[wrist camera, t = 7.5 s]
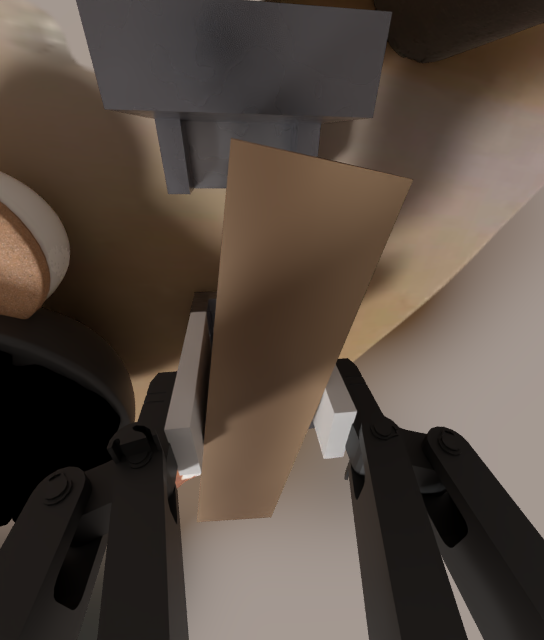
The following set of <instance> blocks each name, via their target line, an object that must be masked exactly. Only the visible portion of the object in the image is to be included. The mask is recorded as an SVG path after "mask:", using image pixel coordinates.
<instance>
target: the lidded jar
mask: <svg viewBox="0 0 544 640" xmlns="http://www.w3.org/2000/svg"><path fill="white" fill-rule="evenodd" d="M69 260H70V244H69V240H68V236H67V233H66V231H65V228H64V226H63V224H62V222H61V220H60V219H59V217H58V215H57V214H56V213H55V212H54V210H53V209H52V208H51V207H50V205H49V204H48V203H47V202H46V201H45V200H44V199H43V198H42V197H40V196H39V195H38V194H37V193H36V192H34V191H33V190H32V189H31V188H29V187H28V186H26V185H25V184H23V183H22V182H20V181H19V180H17V179H15V178H13V177H11V176H9V175H8V174H5V173H3V172H0V315H5V316H10V317H15V318H19V319H28V318H29V317H31V316H32V315H33V314H34V313H35V312H36V311H37V310H38V309H39V308H40V307H41V306H42V304H43V303H44V301H45V300H46V299H47V298H49V296H50V295H51V294H52V293H53V292H54V291H55V290H56V288H57V287H58V286H59V284H60V283H61V281H62V280H63V278H64V276H65V274H66V271H67V269H68V266H69Z"/></svg>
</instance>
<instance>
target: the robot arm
mask: <svg viewBox="0 0 544 640" xmlns="http://www.w3.org/2000/svg"><path fill="white" fill-rule="evenodd" d="M211 356H212V350H211V342H210V335H209V328H208V321H207V314H206V312H191V313H190V318H189V322H188V327H187V331H186V335H185V340H184V344H183V349H182V353H181V358H180V362H179V366H178V371H176V372H162V373H158V374H157V375H156V376H155V378H154V379H153V380H152V381H151V382H150V385H149V388H148V391H147V395H146V397H145V400H144V404H143V407H142V410H141V413H140V416H139V419H138V422H134V423H131V424H129V425H126V426H124V427H123V428H121V429H120V430H119V431H117V432H116V433H115V434H114V436H113V437H112V438H111V439H110V441H109V444H108V446H107V450H108V452H109V454H110V456H111V457H112V459H113V460H111V461H109V462H107V463H105V464H102V465H100V466H97V467H95V468H92V469H90V470H87V471H85V472H84V471H82V470H81V469H80V468H78V467H66V468H62V469H59V470H57V471H55V472H53V473H52V474H50V475H48V476H47V477H46V478H45V479H44V480H43V481H41V482H40V483H39V484H38V486H37V487H36V488H35V490H34V491H33V492H32V494H31V496H30V497H29V499H28V501H27V503H26V504H25V506H24V508H23V510H22V511H21V513H20V515H19V517H18V519H17V520H16V522H15V524H14V526H13V527H12V529H11V531H10V533H9V534H8V536H7V538H6V540H5V542H4V543H3V545H2V547H1V549H0V640H77V639H78V636H79V633H80V629H81V626H82V623H83V620H84V617H85V613H86V610H87V607H88V604H89V601H90V597H91V594H92V591H93V588H94V584H95V581H96V578H97V575H98V572H99V568H100V565H101V562H102V558H103V555H104V552H105V549H106V546H107V551H106V561H105V571H104V580H103V590H102V599H101V609H100V618H99V628H98V638H97V640H189V636H188V623H187V610H186V598H185V584H184V571H183V557H182V544H181V531H180V518H179V506H178V493H177V487H176V484H175V481H176V475H177V469H178V472H179V475H180V476H181V475H189V474H198V473H201V472H202V461H203V450H204V435H205V424H206V412H207V401H208V390H209V379H210V367H211ZM313 423H314V426H315V430H316V433H317V436H318V440H319V443H320V447H321V450H322V454H323V458H324V459H328V458H336V457H343V455H344V452H345V449H346V451H347V454H348V456H349V459H350V460H349V463H348V466H347V469H346V472H345V480H348V477H349V481H350V489H351V498H352V506H353V514H354V522H355V529H356V537H357V546H358V554H359V562H360V569H361V578H362V586H363V594H364V602H365V611H366V619H367V626H368V635H369V640H468V638H467V635H466V632H465V629H464V626H463V623H462V620H461V616H460V613H459V610H458V607H457V604H456V601H455V598H454V595H453V591H452V589H451V585H450V582H449V579H448V576H447V573H446V570H445V567H444V563H443V560H444V562H445V564H446V566H447V568H448V570H449V572H450V574H451V576H452V578H453V579H454V581H455V583H456V585H457V587H458V589H459V591H460V593H461V595H462V597H463V599H464V601H465V603H466V605H467V607H468V609H469V611H470V613H471V615H472V617H473V619H474V621H475V623H476V625H477V627H478V629H479V631H480V633H481V635H482V637H483V639H484V640H544V539H543V538H542V537H541V535H540V534H539V533H538V531H537V530H536V529H535V528H534V526H533V525H532V524H531V522H530V521H529V520H528V519H527V517H526V516H525V515H524V513H523V512H522V511H521V510H520V508H519V507H518V506H517V505H516V503H515V502H514V501H513V500H512V498H511V497H510V496H509V494H508V493H507V492H506V490H505V489H504V488H503V487H502V485H501V484H500V483H499V481H498V480H497V479H496V478H495V476H494V475H493V474H492V472H491V471H490V470H489V469H488V467H487V466H486V465H485V463H484V462H483V461H482V460H481V459H480V457H479V456H478V454H477V453H476V452H475V451H474V449H473V448H472V447H471V446H470V444H469V443H468V442H467V441H466V440H465V439H464V438H463V437H462V436H461V435H459V434H458V433H457V432H455V431H453V430H451V429H448V428H445V427H435V428H431V429H430V430H429V432H428V433H427V434H424V433H419V432H414V431H408V430H405V429H402V428H399V427H398V426H397V425H396V424H395V423H394V422H393V421H392V420H390V419H388V418H387V417H385V416H384V415H383V413H382V412H381V410H380V408H379V406H378V404H377V403H376V401H375V399H374V397H373V395H372V394H371V391H370V390H369V388H368V386H367V385H366V382H365V380H364V379H363V377H362V375H361V373H360V371H359V369H358V368H357V366H356V365H355V364H354V363H353V362H352V361H350V360H349V359H348V358H345V359H337V362H336V364H335V367H334V369H333V371H332V374H331V376H330V379H329V381H328V383H327V386H326V388H325V390H324V393H323V395H322V398H321V400H320V402H319V405H318V407H317V409H316V412H315V414H314V417H313ZM441 556H442V557H441ZM442 558H443V560H442Z"/></svg>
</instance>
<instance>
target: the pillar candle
mask: <svg viewBox="0 0 544 640" xmlns="http://www.w3.org/2000/svg"><path fill="white" fill-rule="evenodd" d="M374 5H375V7H376V11H388V12H392V16H391V22H390V27H389V32H388V38H387V41H388V42H389V43H390V45H391V47H392V48H393V49H394V50H395V51H396V53H398V55H400V56H401V57H403V58H404V57H407V58H409V59H414V60H416V61H417V62H419V63H427V62H428V63H429V62H435V61H439V60H442V59H445V58H448V57H451V56H453V55H455V54H458V53H462V52H464V51H467V50H470V49H473V48H476V47H478V46H481V45H484V44H486V43H489V42H492V41H494V40H497V39H500V38H504V37H506V36H509V35H511V34H514V33H516V32H519V31H522V30H525V29H527V28H530V27H533V26H535V25H538V24H541V23H544V0H374Z"/></svg>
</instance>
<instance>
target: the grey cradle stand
mask: <svg viewBox="0 0 544 640" xmlns="http://www.w3.org/2000/svg"><path fill="white" fill-rule="evenodd" d="M76 2H77V6H78V9H79V13H80V17H81V21H82V25H83V29H84V32H85V36H86V40H87V44H88V48H89V51H90V56H91V59H92V63H93V67H94V71H95V75H96V79H97V82H98V86H99V90H100V94H101V98H102V102H103V105H104V109H106V110H111V111H116V112H122V113H127V114H132V115H137V116H143V117H148V118H153V119H155V123H156V129H157V135H158V140H159V146H160V151H161V157H162V162H163V168H164V173H165V179H166V184H167V190H168V194H191V192H192V191H193V189H194V188H227V176H228V165H229V154H230V143H231V138H235V139H239V140H243V141H248V142H252V143H257V144H261V145H266V146H270V147H275V148H279V149H284V150H288V151H292V152H297V153H301V154H306V155H310V156H315V157H318V148H319V138H320V128H321V124H322V123H331V122H340V121H349V120H358V119H367V118H373V114H374V108H375V103H376V97H377V92H378V87H379V81H380V76H381V70H382V65H383V60H384V54H385V49H386V43H387V38H388V32H389V27H390V22H391V16H392V12H388V11H375V10H363V9H350V8H337V7H324V6H312V5H299V4H286V3H274V2H261V1H248V0H76ZM216 300H217V291H216V292H195V294H194V298H193V302H192V306H191V311H190V313H191V312H206V314H207V321H208V328H209V335H210V342H211V350H212V345H213V334H214V322H215V311H216ZM310 428H315V426H314V423H313V419H312V421H311V424H310V426H309V428H308V429H310Z"/></svg>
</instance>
